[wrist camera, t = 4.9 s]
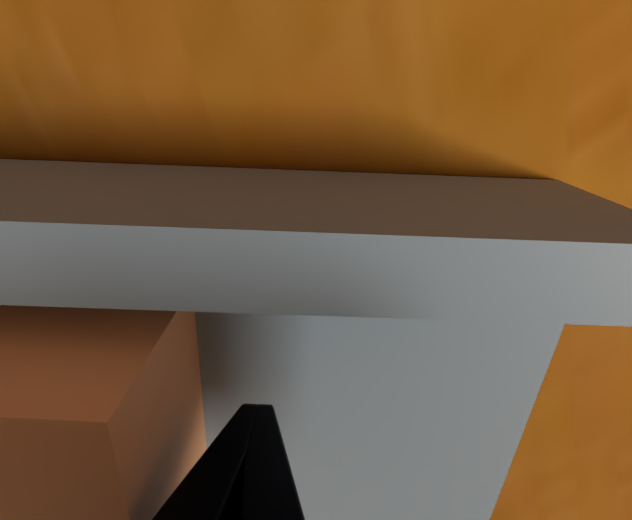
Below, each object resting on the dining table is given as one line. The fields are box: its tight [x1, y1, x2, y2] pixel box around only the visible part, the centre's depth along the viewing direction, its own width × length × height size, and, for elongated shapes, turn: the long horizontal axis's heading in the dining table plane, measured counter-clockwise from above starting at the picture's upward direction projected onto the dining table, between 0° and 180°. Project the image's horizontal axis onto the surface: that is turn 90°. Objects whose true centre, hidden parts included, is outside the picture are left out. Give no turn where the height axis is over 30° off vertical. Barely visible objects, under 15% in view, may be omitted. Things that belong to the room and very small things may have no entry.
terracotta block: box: [0, 305, 207, 520], centre depth 8 cm, size 6×6×4 cm
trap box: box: [0, 159, 632, 520], centre depth 12 cm, size 26×20×5 cm
